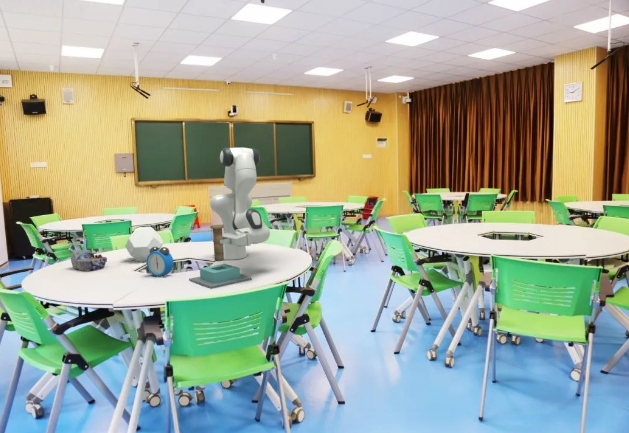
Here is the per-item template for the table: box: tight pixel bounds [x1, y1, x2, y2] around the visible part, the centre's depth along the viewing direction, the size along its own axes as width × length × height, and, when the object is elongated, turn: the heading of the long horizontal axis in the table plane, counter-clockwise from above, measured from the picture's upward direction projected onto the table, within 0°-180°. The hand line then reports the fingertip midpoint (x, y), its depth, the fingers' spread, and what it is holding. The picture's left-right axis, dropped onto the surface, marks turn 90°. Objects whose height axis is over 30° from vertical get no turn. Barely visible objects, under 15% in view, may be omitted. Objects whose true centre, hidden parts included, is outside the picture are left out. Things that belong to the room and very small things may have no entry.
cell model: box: [70, 249, 108, 272], centre depth 257 cm, size 13×11×20 cm
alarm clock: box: [146, 246, 175, 278], centre depth 235 cm, size 13×6×15 cm, turn 67°
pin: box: [209, 223, 225, 262], centre depth 219 cm, size 6×6×17 cm
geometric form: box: [124, 226, 165, 263], centre depth 276 cm, size 20×20×20 cm
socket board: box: [188, 263, 253, 290], centre depth 221 cm, size 22×22×6 cm
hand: (216, 241), depth 218 cm, fingers closed on pin, 4 cm apart
